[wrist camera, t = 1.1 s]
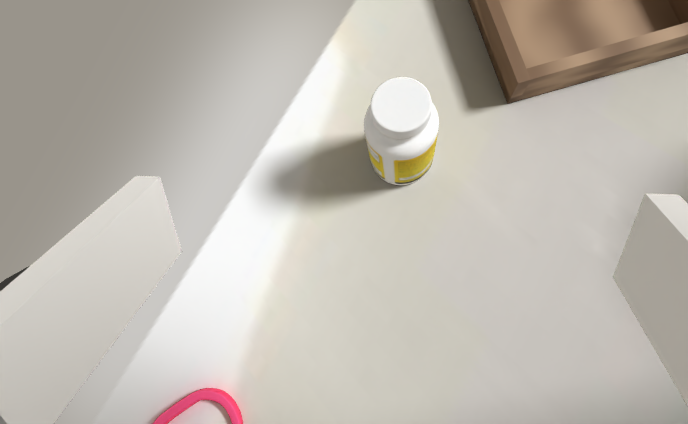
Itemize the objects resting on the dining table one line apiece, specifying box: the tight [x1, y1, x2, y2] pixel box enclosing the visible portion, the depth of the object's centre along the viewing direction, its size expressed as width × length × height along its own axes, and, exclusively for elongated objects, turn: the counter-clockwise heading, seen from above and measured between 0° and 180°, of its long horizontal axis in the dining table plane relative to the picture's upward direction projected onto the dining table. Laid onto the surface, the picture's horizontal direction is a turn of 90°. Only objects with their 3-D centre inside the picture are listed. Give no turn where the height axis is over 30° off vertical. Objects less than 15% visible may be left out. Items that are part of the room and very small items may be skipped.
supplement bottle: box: [364, 77, 439, 185], centre depth 33 cm, size 5×5×10 cm
